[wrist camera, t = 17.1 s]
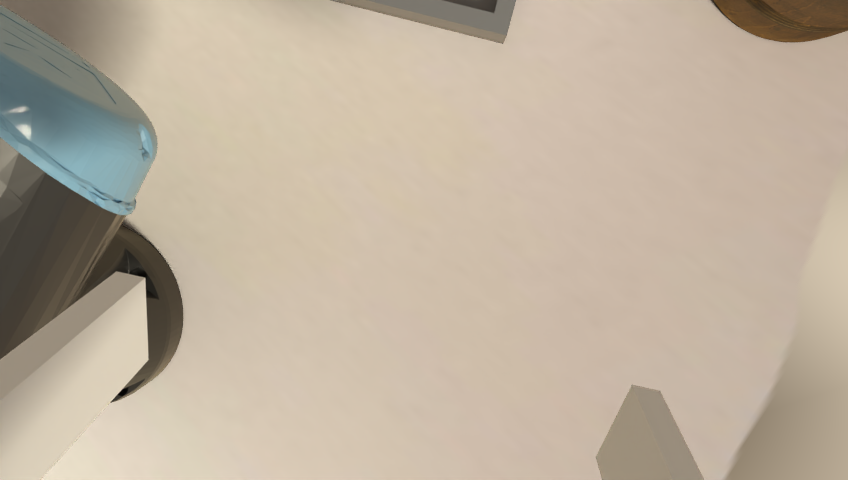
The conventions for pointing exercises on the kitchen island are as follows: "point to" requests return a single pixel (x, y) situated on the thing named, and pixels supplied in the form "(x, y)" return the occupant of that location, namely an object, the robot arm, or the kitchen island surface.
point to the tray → (449, 14)
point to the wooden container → (788, 18)
